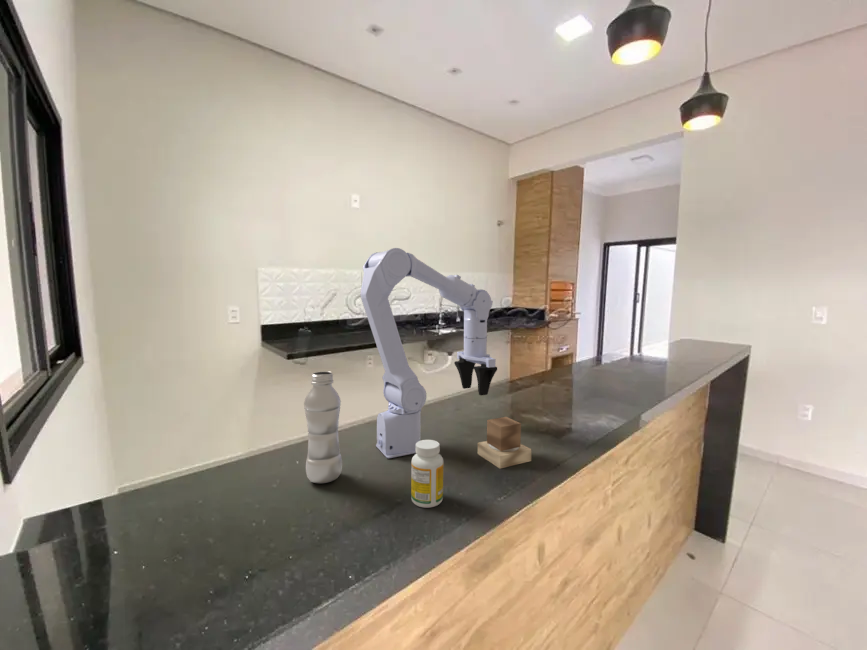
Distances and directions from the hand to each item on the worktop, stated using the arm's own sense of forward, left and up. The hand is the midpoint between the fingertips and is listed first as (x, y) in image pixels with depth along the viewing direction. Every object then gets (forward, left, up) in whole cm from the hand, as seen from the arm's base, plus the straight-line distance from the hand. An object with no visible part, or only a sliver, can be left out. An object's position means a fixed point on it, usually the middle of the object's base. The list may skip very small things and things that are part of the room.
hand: (474, 391), depth 95 cm
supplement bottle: (-25, -24, -11) cm, 36 cm away
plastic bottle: (-39, -9, -11) cm, 41 cm away
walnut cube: (-3, -16, -8) cm, 18 cm away
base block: (-3, -16, -10) cm, 19 cm away
